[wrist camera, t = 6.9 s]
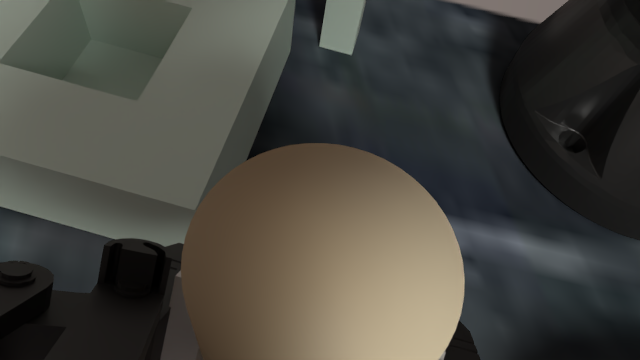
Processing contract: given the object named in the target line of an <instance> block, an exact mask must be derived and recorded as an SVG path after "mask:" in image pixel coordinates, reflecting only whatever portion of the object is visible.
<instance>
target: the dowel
mask: <svg viewBox="0 0 640 360" xmlns="http://www.w3.org/2000/svg"><path fill="white" fill-rule="evenodd" d="M181 281H182V291H183V295H184V300H185V304H186V308H187V311H188V315H189V318H190V321H191V324H192V327H193V330H194V333H195V336H196V339H197V342H198V345H199V348H200V351H201V354H202V358H203V360H439V358H440V357H441V355H442V354H443V352H444V351H445V350H446V348H447V347H448V345H449V343H450V341H451V339H452V337H453V335H454V333H455V331H456V327H457V324H458V321H459V318H460V315H461V311H462V305H463V299H464V282H465V278H464V269H463V261H462V256H461V252H460V248H459V245H458V242H457V239H456V237H455V234H454V231H453V229H452V227H451V225H450V223H449V221H448V219H447V218H446V216H445V214H444V213H443V211H442V210H441V208H440V207H439V205H438V204H437V202H436V201H435V200H434V199H433V198H432V196H431V195H430V194H429V193H428V192H427V191H426V190H425V188H423V187H422V186H421V185H420V184H419V183H418V182H417V181H416V180H415V179H414V178H412V177H411V176H410V175H408V174H407V173H406V172H404V171H403V170H402V169H400V168H399V167H397V166H395V165H393V164H392V163H390V162H388V161H387V160H385V159H382V158H380V157H378V156H376V155H374V154H371V153H368V152H365V151H362V150H359V149H356V148H352V147H347V146H343V145H336V144H327V143H304V144H295V145H289V146H284V147H280V148H276V149H273V150H270V151H267V152H264V153H261V154H259V155H257V156H255V157H253V158H251V159H249V160H247V161H245V162H243V163H242V164H240V165H239V166H237V167H235V168H234V169H232V170H231V171H230V172H229V173H228V174H226V175H225V176H224V177H223V178H222V179H220V180H219V181H218V182H217V183H216V185H215V186H214V187H213V188H212V189H211V190H210V191H209V192H208V194H207V195H206V196H205V198H204V199H203V201H202V202H201V203H200V205H199V206H198V208H197V210H196V212H195V214H194V216H193V218H192V220H191V222H190V225H189V228H188V231H187V234H186V236H185V241H184V246H183V251H182V259H181Z"/></svg>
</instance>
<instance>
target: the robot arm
mask: <svg viewBox="0 0 640 360" xmlns="http://www.w3.org/2000/svg"><path fill="white" fill-rule="evenodd" d="M500 109H501V115H502V119H503V123H504V126H505V129H506V131H507V134H508V136H509V138H510V140H511V142H512V144H513V146H514V148H515V150H516V151H517V153H518V155H519V156H520V158H521V159H522V160H523V162H524V163H525V165H526V166H527V167H528V168H529V170H530V171H531V172H532V173H533V174H534V176H535V177H536V178H537V179H538V180H539V181H540V182H541V183H542V184H543V185H544V186H545V187H546V188H547V189H548V190H549V191H550V192H551V193H553V194H554V195H555V196H556V197H557V198H559V199H560V200H561V201H562V202H564V203H565V204H566V205H568V206H569V207H570V208H572V209H573V210H575V211H576V212H578V213H579V214H581V215H582V216H584V217H586V218H588V219H589V220H591V221H593V222H595V223H597V224H599V225H601V226H603V227H605V228H607V229H609V230H612V231H614V232H616V233H619V234H622V235H624V236H627V237H630V238H634V239H637V240H640V0H569V1H568V2H566V3H565V4H564V5H563V6H561V7H560V8H559V9H558V10H557V11H555V12H554V13H553V14H552V15H551V16H549V17H548V18H547V19H546V20H545V21H543V22H542V23H541V24H540V25H538V26H537V27H536V28H535V29H534V30H533V31H532V32H531V33H530V34H529V35H528V36H527V38H526V39H525V40H524V41H523V43H522V44H521V46H520V48H519V49H518V51H517V53H516V54H515V56H514V58H513V59H512V61H511V63H510V64H509V66H508V68H507V70H506V72H505V74H504V77H503V79H502V83H501V88H500ZM183 246H184V244H182V243H176V244H173V245H169V246H166V247H164V246H163V245H161V244H159V243H156V242H152V241H149V240H144V239H136V238H121V239H116V240H112V241H110V242H108V243H107V244H105V245H104V249H103V254H102V260H101V266H100V272H99V277H98V283H97V285H96V286H95V287H94V289H93V290H92V292H91V293H74V292H65V291H56V290H52V287H53V277H54V275H53V274H52V273H51V272H50V271H49V270H48V269H46V268H44V267H42V266H39V265H36V264H31V263H29V262H25V261H20V262H18V261H8V262H3V263H0V360H203V358H202V354H201V351H200V348H199V345H198V342H197V339H196V336H195V333H194V330H193V327H192V324H191V321H190V318H189V315H188V311H187V308H186V304H185V300H184V295H183V291H182V281H181V259H182V251H183ZM477 353H478V352H477V349H476V347H475V345H474V341H473V338H472V336H471V333H470V331H469V330H468V329H467V328H466V327H465V326H464V325H463V324H462V323H461V322H460V321H458V324H457V327H456V331H455V333H454V335H453V337H452V339H451V341H450V343H449V345H448V347H447V348H446V350H445V351H444V352H443V354H442V355H441V357H440V358H439V360H480V357H479V355H478V354H477Z"/></svg>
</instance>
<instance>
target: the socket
mask: <svg viewBox="0 0 640 360" xmlns="http://www.w3.org/2000/svg"><path fill="white" fill-rule="evenodd" d="M365 4H366V0H327V1H326V7H325V13H324V20H323V26H322V32H321V38H320V45H319V47H323V48H327V49H330V50H334V51H338V52H342V53H345V54H349V55H352V53H353V49H354V46H355V43H356V40H357V36H358V33H359V29H360V25H361V21H362V16H363V12H364V8H365ZM294 10H295V0H0V206H1V207H4V208H8V209H11V210H14V211H18V212H21V213H25V214H28V215H32V216H35V217H39V218H42V219H46V220H49V221H53V222H56V223H60V224H63V225H67V226H70V227H74V228H77V229H81V230H84V231H88V232H91V233H95V234H98V235H102V236H105V237H109V238H112V239H121V238H136V239H144V240H149V241H152V242H156V243H159V244H161V245H163V246H164V247H166V246H169V245H173V244H176V243H182V244H184V241H185V236H186V234H187V231H188V228H189V225H190V222H191V220H192V218H193V216H194V214H195V212H196V210H197V208H198V206H199V205H200V203H201V202H202V201H203V199H204V198H205V196H206V195H207V194H208V192H209V191H210V190H211V189H212V188H213V187H214V186H215V185H216V183H217V182H218V181H219V180H220V179H222V178H223V177H224V176H225V175H226V174H228V173H229V172H230V171H231V170H232V169H234V168H235V167H237V166H239V165H240V164H242V163H243V162H245V161H246V160H247V157H248V155H249V152H250V150H251V147H252V145H253V142H254V140H255V137H256V135H257V133H258V130H259V128H260V125H261V123H262V120H263V118H264V115H265V113H266V110H267V108H268V105H269V103H270V100H271V98H272V95H273V93H274V91H275V88H276V86H277V83H278V81H279V78H280V76H281V73H282V71H283V68H284V66H285V63H286V61H287V58H288V56H289V53H290V50H291V40H292V30H293V20H294Z"/></svg>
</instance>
